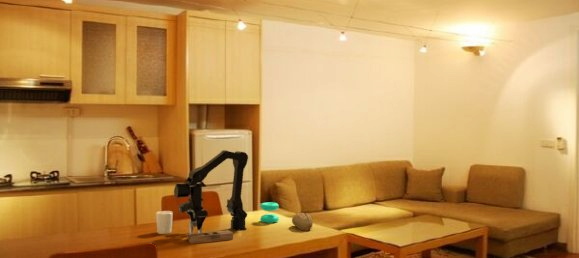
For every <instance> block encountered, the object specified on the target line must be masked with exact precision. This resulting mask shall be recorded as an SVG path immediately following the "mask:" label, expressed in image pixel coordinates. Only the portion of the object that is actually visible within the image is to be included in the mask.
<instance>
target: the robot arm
mask: <svg viewBox="0 0 579 258" xmlns="http://www.w3.org/2000/svg"><path fill="white" fill-rule="evenodd" d="M228 159H229V160H232V165H233V167H234V168H233V169H234V170H233V171H234V172H233V181H232V190H231V197H230V198H229V199H227V200H226V206H225V207H226V208H227V212H228V213H229V214H230V216H231V220H230V229H232V231H244V230H247V228H246V219H247V217H248V212H246V211H245V210H244V204H243V200H242V192H243V191H242V189H243V181H244V180H243V179H244V171H245V168H246V166H247V163H248V160H249V155H248V154H247V153H246V152H245V151H239V150H238V151H237V150H236V151H235V152H233V151H229V150H225V149H224V150H221V151H220V152H219V153H217V154H216V155H215V156H214V157H213V158H211V159H210V160H209V161H207V162H205V164H203V165H202V166H199V167H197V168H196V167H195V168H193V169H192V170H190V172H189V173H188V177H187V178H186V179H185V181H184V183H181V182H180V183H179V182H178V183H177V182H176V183H175V186H174V189H173V194H174V198H176V199H178V198H188V201H185V202H183V203H180V204H178V205H177V207H178V210H179V212H180V213H181V214H183V213H186V214H187V215H188V216H189V217H190V218H189V220H190V222H196V224H197V227H196V229H197V231H198V230H200V228H201V226H202V224H203V225H204V222H205V220H206V218H207V217H208V213H209V212H208V211H207V210H206V209H205V208H204V206H203V201H204V198H203V188H204V187H207V185H206V184H205V182H204V180H205V179H206V178H207V176H208V174H210V172H212V171H213V170H214V169H216V168H217V167H218V166H219V165H221V164H222V163H223V162H225V161H226V160H228ZM202 227H203V226H202Z"/></svg>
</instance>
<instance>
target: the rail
mask: <svg viewBox="0 0 579 258" xmlns="http://www.w3.org/2000/svg"><path fill="white" fill-rule="evenodd" d="M229 240H234V232H233V231H231V230H219V231H218V230H217V231H209V232H208V231H207V232H202V233H198V232H197V233H193V234H187V242H189V244H191V245H193V244H203V243H212V242H219V241H220V242H222V241H229Z"/></svg>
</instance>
